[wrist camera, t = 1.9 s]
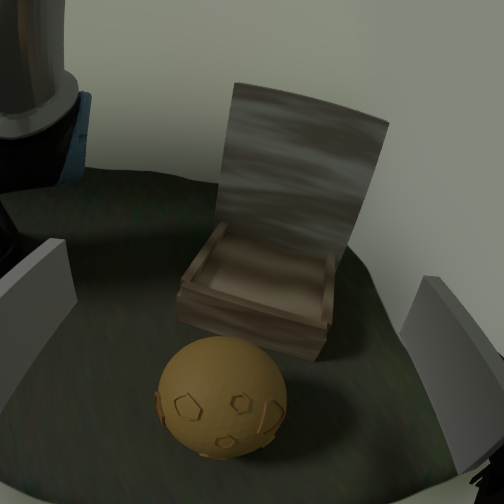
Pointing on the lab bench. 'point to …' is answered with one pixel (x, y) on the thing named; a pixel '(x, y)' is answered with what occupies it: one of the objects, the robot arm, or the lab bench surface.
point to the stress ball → (222, 397)
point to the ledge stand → (281, 219)
